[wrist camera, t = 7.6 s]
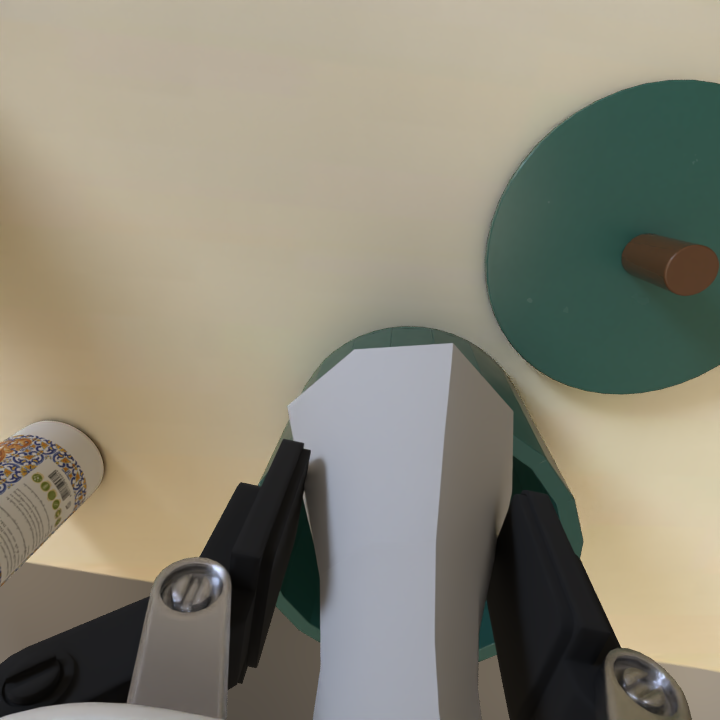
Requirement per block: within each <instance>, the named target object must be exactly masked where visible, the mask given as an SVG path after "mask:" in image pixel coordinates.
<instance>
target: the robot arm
mask: <svg viewBox="0 0 720 720" xmlns="http://www.w3.org/2000/svg"><path fill="white" fill-rule="evenodd" d="M310 454H311V450H308V449H304V443H302V442H298V441H293V440H288V439H283V440H282V442H281V444H280V447H279V449H278V451H277V453H276V455H275V457H274V460H273V462H272V464H271V466H270V468H269V471H268V473H267V475H266V477H265V479H264V481H263V484H262V486H256V485H251V484H246V483H242V482H241V483H240V484H239V485H238V486H237V488H236V490H235V492H234V494H233V495H232V497H231V499H230V501H229V503H228V505H227V507H226V509H225V510H224V512H223V514H222V516H221V518H220V520H219V522H218V523H217V525H216V527H215V529H214V531H213V533H212V535H211V537H210V538H209V540H208V542H207V544H206V546H205V548H204V550H203V551H202V553H201V555H200V557H194V558H186V559H182V560H180V561H177V562H174V563H172V564H171V565H169V566H168V567H166V568H165V569H163V570H162V572H161V573H160V574H159V575H158V576H157V577H156V579H155V581H154V583H153V586H152V589H151V594H150V596H149V597H147V598H144V599H142V600H139V601H137V602H135V603H132V604H130V605H127V606H125V607H123V608H120V609H118V610H115V611H113V612H111V613H108V614H106V615H103V616H101V617H99V618H96V619H94V620H91V621H89V622H87V623H84V624H82V625H79V626H77V627H74V628H72V629H70V630H68V631H65V632H63V633H60V634H58V635H55V636H53V637H51V638H48V639H46V640H43V641H41V642H38V643H36V644H34V645H31V646H29V647H27V648H25V649H23V650H21V651H19V652H17V653H15V654H13V655H12V656H10V657H9V658H7V659H6V660H5V661H4V662H2V663H1V664H0V720H226V719H227V694H228V692H227V691H228V690H229V689H230V688H232V687H234V686H235V685H237V683H241V684H242V683H243V680H244V676H245V673H246V670H247V667H248V666H249V667H254V668H257V666H258V663H259V660H260V656H261V653H262V650H263V646H264V643H265V639H266V636H267V633H268V629H269V626H270V623H271V619H272V616H273V612H274V609H275V606H276V603H277V599H278V596H279V592H280V589H281V586H282V582H283V579H284V576H285V572H286V569H287V566H288V562H289V559H290V555H291V552H292V549H293V545H294V542H295V537H296V533H297V527H298V522H299V516H300V511H301V505H302V499H303V494H304V483H305V480H306V476H307V471H308V465H309V460H310ZM486 601H487V606H488V611H489V616H490V621H491V626H492V632H493V637H494V642H495V647H496V652H497V657H498V662H499V667H500V672H501V677H502V683H503V688H504V693H505V698H506V703H507V708H508V714H509V718H510V720H692V718H691V714H690V710H689V706H688V703H687V701H686V698H685V696H684V693H683V691H682V690H681V688H680V687H679V685H678V684H677V682H676V681H675V680H674V679H673V677H672V676H671V675H670V674H669V673H668V672H667V671H666V670H665V669H664V668H662V667H661V666H660V665H659V664H658V663H656V662H655V661H654V660H652V659H651V658H649V657H647V656H645V655H644V654H642V653H640V652H637V651H634V650H631V649H628V648H621V647H620V644H619V642H618V640H617V638H616V636H615V634H614V631H613V629H612V627H611V625H610V623H609V621H608V618H607V616H606V614H605V612H604V610H603V608H602V605H601V603H600V601H599V599H598V597H597V595H596V592H595V590H594V588H593V586H592V584H591V582H590V579H589V577H588V575H587V573H586V571H585V569H584V566H583V564H582V562H581V560H580V559H579V557H578V556H577V555H576V554H575V553H574V551H573V548H572V546H571V544H570V542H569V540H568V537H567V535H566V533H565V531H564V529H563V526H562V524H561V522H560V520H559V518H558V515H557V513H556V511H555V509H554V507H553V504H552V502H551V500H550V498H549V496H548V495H547V494H544V493H539V492H534V491H529V490H523V491H522V492H521V494H515V495H514V496H513V498H512V501H511V503H510V506H509V509H508V511H507V514H506V517H505V519H504V522H503V524H502V527H501V530H500V532H499V535H498V538H497V543H496V553H495V559H494V564H493V569H492V574H491V578H490V583H489V588H488V593H487V597H486Z"/></svg>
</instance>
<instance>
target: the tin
mask: <svg viewBox="0 0 720 720" xmlns="http://www.w3.org/2000/svg"><path fill="white" fill-rule="evenodd" d="M447 343H453V344H454V345H455V346H456V347H457V348H458V349H459V350H460V351H461V353H462V354H463V355H464V356H465V357H466V358H467V359H468V361H469V362H470V363H471V364H472V365H473V366H474V367H475V368H476V370H477V371H478V372H479V373H480V374H481V375H482V376H483V377H484V379H485V380H486V381H487V382H488V383H489V384H490V385H491V387H492V388H493V389H494V390H495V391H496V392H497V393H498V394H499V396H500V397H501V398H502V399H503V400H504V401H505V402H506V404H507V405H508V406H509V407H510V408H511V409H512V410H513V468H512V494H511V499H510V503H511V501H512V498H513V496H514V495H515V494H521V492H522V491H523V490H529V491H534V492H539V493H544V494H547V495H548V496H549V498H550V500H551V502H552V504H553V507H554V509H555V511H556V513H557V515H558V518H559V520H560V522H561V524H562V526H563V529H564V531H565V533H566V535H567V537H568V540H569V542H570V544H571V546H572V548H573V551H574V553H575V554H576V555H577V556H578V557H579V559H580V556H581V551H582V546H583V537H582V532H581V527H580V523H579V518H578V513H577V508H576V504H575V499H574V497H573V495H572V493H571V492H570V490H569V488H568V486H567V484H566V482H565V480H564V478H563V477H562V475H561V473H560V471H559V469H558V467H557V465H556V463H555V461H554V460H553V458H552V456H551V454H550V452H549V450H548V448H547V446H546V445H545V443H544V441H543V439H542V437H541V435H540V433H539V431H538V430H537V428H536V426H535V424H534V422H533V420H532V418H531V416H530V414H529V413H528V411H527V409H526V407H525V405H524V403H523V401H522V399H521V398H520V396H519V394H518V392H517V390H516V389H515V388H514V386H513V385H512V383H511V381H510V380H509V378H508V377H507V375H506V374H505V373H504V371H503V370H502V368H501V367H500V365H499V364H498V363H497V362H495V361H494V360H493V359H492V358H491V357H490V356H489V355H488V354H486V353H485V352H484V351H483V350H481V349H480V348H479V347H477V346H475V345H474V344H472V343H470V342H469V341H467V340H465V339H463V338H460V337H458V336H456V335H454V334H451V333H447V332H444V331H440V330H437V329H431V328H425V327H408V326H404V327H393V328H386V329H382V330H377V331H373V332H370V333H368V334H365V335H362V336H359V337H357V338H355V339H353V340H352V341H350V342H348V343H346V344H344V345H343V346H341V347H340V348H339V349H337V350H336V351H334V352H333V353H332V354H331V355H330V356H329V357H327V358H326V359H325V360H324V361H323V362H322V364H321V365H320V366H319V367H318V368H317V370H316V371H315V372H314V374H313V375H312V377H311V378H310V380H309V381H308V382H307V384H306V385H305V387H304V389H303V391H302V393H303V392H304V391H306V390H307V389H308V388H309V387H310V386H312V385H313V384H314V383H315V382H316V381H318V380H319V379H320V378H321V377H322V376H323V375H325V374H326V373H327V372H328V371H329V370H331V369H332V368H333V367H334V366H335V365H337V364H338V363H339V362H340V361H341V360H342V359H344V358H345V357H346V356H347V355H348V354H350V353H351V352H352V351H353V350H354V349H370V348H385V347H400V346H416V345H431V344H447ZM302 393H301V394H302ZM283 439H288V440H293V436H292V431H291V425H290V419H289V421H288V423H287V425H286V427H285V429H284V431H283V433H282V436H281V438H280V440H279V442H278V444H277V446H276V448H275V450H274V453H273V455H272V457H271V459H270V461H269V463H268V465H267V467H266V469H265V472H264V474H263V476H262V478H261V480H260V482H259V484H258V486H262V484H263V481H264V479H265V477H266V475H267V473H268V471H269V468H270V466H271V464H272V462H273V460H274V457H275V455H276V453H277V451H278V449H279V447H280V444H281V442H282V440H283ZM510 503H509V506H510ZM508 509H509V508H508ZM276 607H277V608H278V609H279V610H280V611H281V612H282V613H283V614H284V615H285V616H286V617H287V618H288V619H289V620H290V621H291V622H292V623H293V624H294V625H295V626H296V628H297V629H298V630H300V631H301V632H303V633H304V634H306V635H308V636H310V637H311V638H313V639H315V640H316V641H318V642H320V576H319V570H318V565H317V559H316V553H315V548H314V542H313V538H312V534H311V530H310V525H309V521H308V517H307V513H306V509H305V504H304V500H303V499H302V505H301V511H300V516H299V522H298V527H297V533H296V537H295V542H294V545H293V549H292V552H291V555H290V559H289V562H288V566H287V569H286V572H285V576H284V579H283V582H282V586H281V589H280V592H279V596H278V599H277V603H276ZM495 655H497V652H496V647H495V642H494V637H493V632H492V626H491V621H490V616H489V611H488V606H487V601H486V602H485V607H484V612H483V616H482V621H481V626H480V630H479V659H478V662H480V661H483V660H485V659H487V658H490V657H492V656H495Z"/></svg>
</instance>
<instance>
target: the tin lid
mask: <svg viewBox="0 0 720 720" xmlns="http://www.w3.org/2000/svg"><path fill="white" fill-rule="evenodd" d="M485 276H486V285H487V291H488V297H489V300H490V303H491V306H492V310H493V313H494V315H495V317H496V319H497V322H498V324H499V326H500V328H501V330H502V331H503V333H504V334H505V336H506V337H507V339H508V340H509V342H510V343H511V345H512V346H513V347H514V348H515V349H516V351H517V352H518V353H519V354H520V355H521V356H522V357H523V358H524V359H525V360H526V361H527V362H529V363H530V364H531V365H532V366H533V367H535V368H536V369H537V370H539V371H540V372H542V373H544V374H545V375H547V376H548V377H550V378H552V379H554V380H556V381H558V382H561V383H563V384H565V385H568V386H571V387H574V388H578V389H581V390H585V391H590V392H597V393H603V394H634V393H644V392H649V391H655V390H660V389H664V388H667V387H671V386H674V385H677V384H681V383H683V382H685V381H688V380H690V379H693V378H695V377H698V376H700V375H702V374H704V373H706V372H707V371H709V370H711V369H713V368H715V367H717V366H719V365H720V84H718V83H712V82H705V81H698V80H666V81H660V82H653V83H646V84H642V85H639V86H635V87H632V88H628V89H625V90H621V91H619V92H616V93H614V94H612V95H609V96H607V97H605V98H602V99H600V100H597V101H595V102H593V103H592V104H590V105H588V106H586V107H585V108H583V109H581V110H580V111H578V112H576V113H574V114H573V115H572V116H570V117H569V118H567V119H566V120H565V121H563V122H562V123H561V124H559V125H558V126H557V127H555V128H554V129H553V130H552V131H551V132H550V133H549V134H548V135H547V136H546V137H545V138H543V139H542V140H541V141H540V142H539V143H538V144H537V145H536V146H535V147H534V149H533V150H532V151H531V152H530V153H529V155H528V156H527V157H526V158H525V159H524V160H523V162H522V163H521V164H520V166H519V167H518V169H517V170H516V172H515V173H514V175H513V176H512V178H511V179H510V181H509V183H508V185H507V187H506V188H505V190H504V192H503V194H502V196H501V198H500V200H499V203H498V205H497V208H496V211H495V213H494V216H493V219H492V222H491V226H490V231H489V235H488V239H487V246H486V256H485Z"/></svg>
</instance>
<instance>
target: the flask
mask: <svg viewBox="0 0 720 720" xmlns="http://www.w3.org/2000/svg"><path fill="white" fill-rule="evenodd" d="M287 407H288V413H289V419H290V425H291V431H292V436H293V441H298V442H302V443H304V449H308V450H311V454H310V460H309V465H308V471H307V476H306V480H305V483H304V494H303V500H304V504H305V509H306V513H307V517H308V521H309V525H310V530H311V534H312V538H313V542H314V548H315V553H316V559H317V565H318V570H319V576H320V643H321V668H320V675H319V681H318V688H317V695H316V701H315V708H314V715H313V720H482V717H481V710H480V703H479V694H478V659H479V630H480V626H481V621H482V616H483V612H484V607H485V602H486V597H487V593H488V588H489V583H490V578H491V574H492V569H493V564H494V559H495V553H496V543H497V538H498V535H499V532H500V530H501V527H502V524H503V522H504V519H505V517H506V514H507V511H508V508H509V503H510V499H511V494H512V468H513V410H512V409H511V408H510V407H509V406H508V405H507V404H506V402H505V401H504V400H503V399H502V398H501V397H500V396H499V394H498V393H497V392H496V391H495V390H494V389H493V388H492V387H491V385H490V384H489V383H488V382H487V381H486V380H485V379H484V377H483V376H482V375H481V374H480V373H479V372H478V371H477V370H476V368H475V367H474V366H473V365H472V364H471V363H470V362H469V361H468V359H467V358H466V357H465V356H464V355H463V354H462V353H461V351H460V350H459V349H458V348H457V347H456V346H455V345H454V344H453V343H447V344H431V345H416V346H400V347H385V348H370V349H354V350H353V351H352V352H351V353H350V354H348V355H347V356H346V357H345V358H344V359H342V360H341V361H340V362H339V363H338V364H337V365H335V366H334V367H333V368H332V369H331V370H329V371H328V372H327V373H326V374H325V375H323V376H322V377H321V378H320V379H319V380H318V381H316V382H315V383H314V384H313V385H312V386H310V387H309V388H308V389H307V390H306V391H304V392H303V393H302V394H301V395H300V396H298V397H297V398H296V399H295V400H294V401H293V402H291V403H290V404H289V405H288V406H287Z"/></svg>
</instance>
